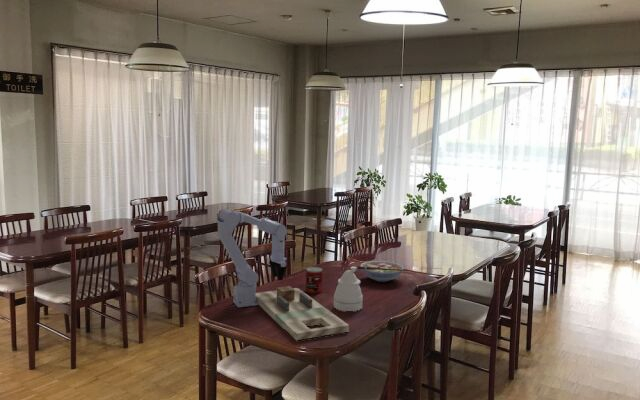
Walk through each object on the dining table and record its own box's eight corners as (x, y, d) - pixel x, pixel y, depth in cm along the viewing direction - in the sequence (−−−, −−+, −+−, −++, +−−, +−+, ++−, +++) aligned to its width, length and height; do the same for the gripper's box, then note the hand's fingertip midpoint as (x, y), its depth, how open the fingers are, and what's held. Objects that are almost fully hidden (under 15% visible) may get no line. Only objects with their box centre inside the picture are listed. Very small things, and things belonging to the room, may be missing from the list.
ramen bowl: (404, 275, 282) (404, 260, 280) (406, 287, 259) (407, 272, 258) (358, 272, 284) (358, 258, 283) (356, 285, 261) (357, 269, 260)
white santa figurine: (360, 301, 237) (362, 263, 234) (363, 311, 224) (365, 271, 222) (332, 301, 236) (333, 263, 234) (334, 311, 224) (335, 271, 221)
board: (296, 341, 191) (296, 324, 190) (253, 299, 236) (253, 285, 235) (348, 332, 201) (349, 316, 200) (297, 293, 245) (297, 280, 245)
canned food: (302, 292, 248) (303, 269, 247) (310, 287, 256) (311, 266, 254) (316, 294, 245) (317, 272, 243) (324, 290, 252) (325, 268, 250)
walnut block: (281, 301, 226) (281, 291, 225) (276, 297, 231) (276, 287, 230) (294, 299, 228) (294, 289, 228) (289, 295, 234) (289, 285, 233)
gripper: (292, 252, 231) (291, 281, 233) (280, 245, 244) (280, 273, 246) (277, 253, 228) (277, 283, 230) (266, 246, 241) (265, 274, 243)
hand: (277, 278), depth 238 cm, fingers open, 5 cm apart
